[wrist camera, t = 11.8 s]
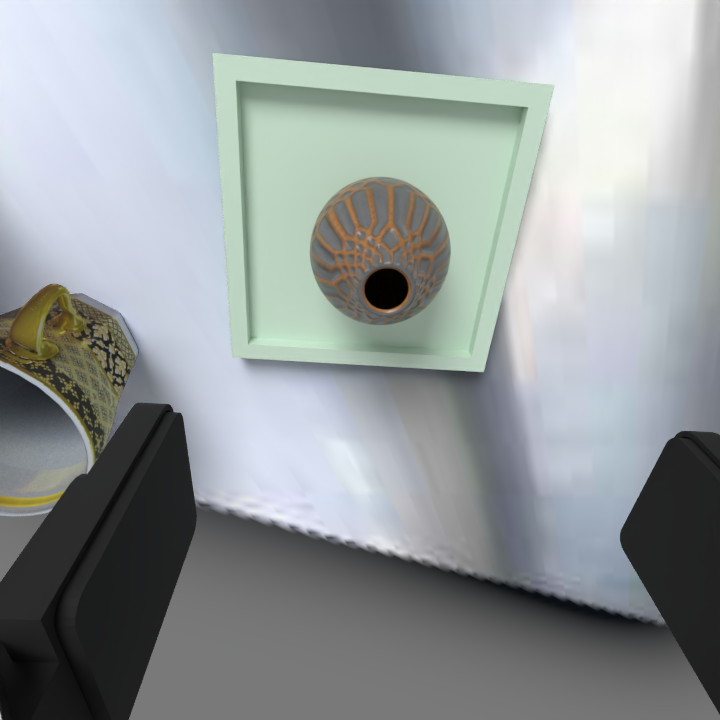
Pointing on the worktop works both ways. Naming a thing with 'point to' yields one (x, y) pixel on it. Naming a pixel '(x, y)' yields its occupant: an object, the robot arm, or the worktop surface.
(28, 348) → the ceramic cup
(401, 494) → the worktop surface
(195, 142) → the worktop surface
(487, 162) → the tray
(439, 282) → the vase
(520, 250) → the worktop surface
